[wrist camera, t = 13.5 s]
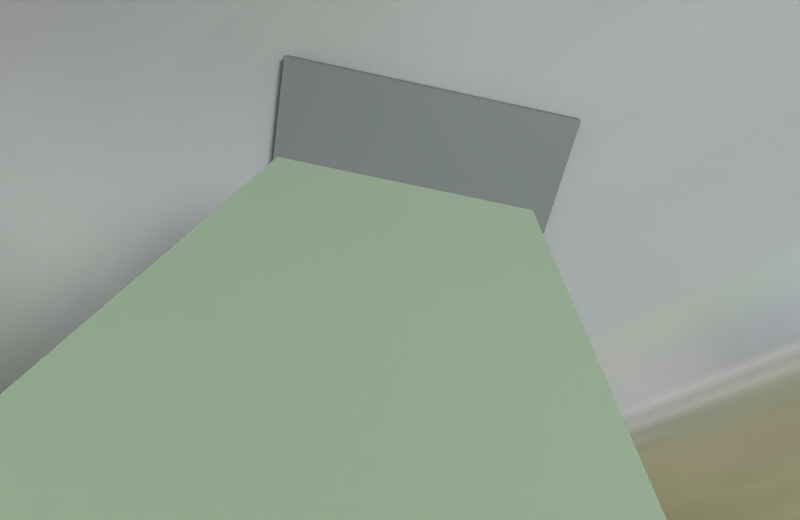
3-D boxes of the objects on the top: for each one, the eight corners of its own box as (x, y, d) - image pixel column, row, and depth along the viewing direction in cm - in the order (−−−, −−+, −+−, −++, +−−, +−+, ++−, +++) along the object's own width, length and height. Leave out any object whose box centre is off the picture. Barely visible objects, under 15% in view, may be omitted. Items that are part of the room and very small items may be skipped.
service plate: (287, 55, 26) (283, 56, 26) (578, 118, 26) (580, 120, 26) (245, 443, 36) (241, 449, 35) (457, 487, 36) (457, 494, 36)
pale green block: (277, 156, 13) (-328, 673, 3) (532, 210, 13) (833, 906, 3) (249, 424, 16) (-73, 1102, 6) (453, 466, 16) (463, 1208, 6)
